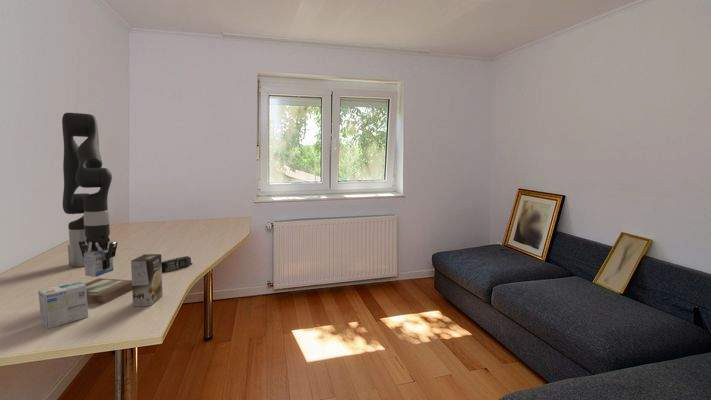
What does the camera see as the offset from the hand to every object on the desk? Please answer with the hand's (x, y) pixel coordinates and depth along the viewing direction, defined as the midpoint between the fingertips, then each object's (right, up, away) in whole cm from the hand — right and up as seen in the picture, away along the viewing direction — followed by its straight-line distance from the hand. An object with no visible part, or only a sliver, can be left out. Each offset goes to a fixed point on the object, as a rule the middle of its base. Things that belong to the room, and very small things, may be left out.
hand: (99, 268), depth 135 cm
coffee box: (+20, -11, -4) cm, 24 cm away
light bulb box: (+3, -13, -20) cm, 24 cm away
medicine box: (0, -2, 0) cm, 2 cm away
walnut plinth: (0, -10, +1) cm, 10 cm away
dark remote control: (+12, -7, +34) cm, 37 cm away
